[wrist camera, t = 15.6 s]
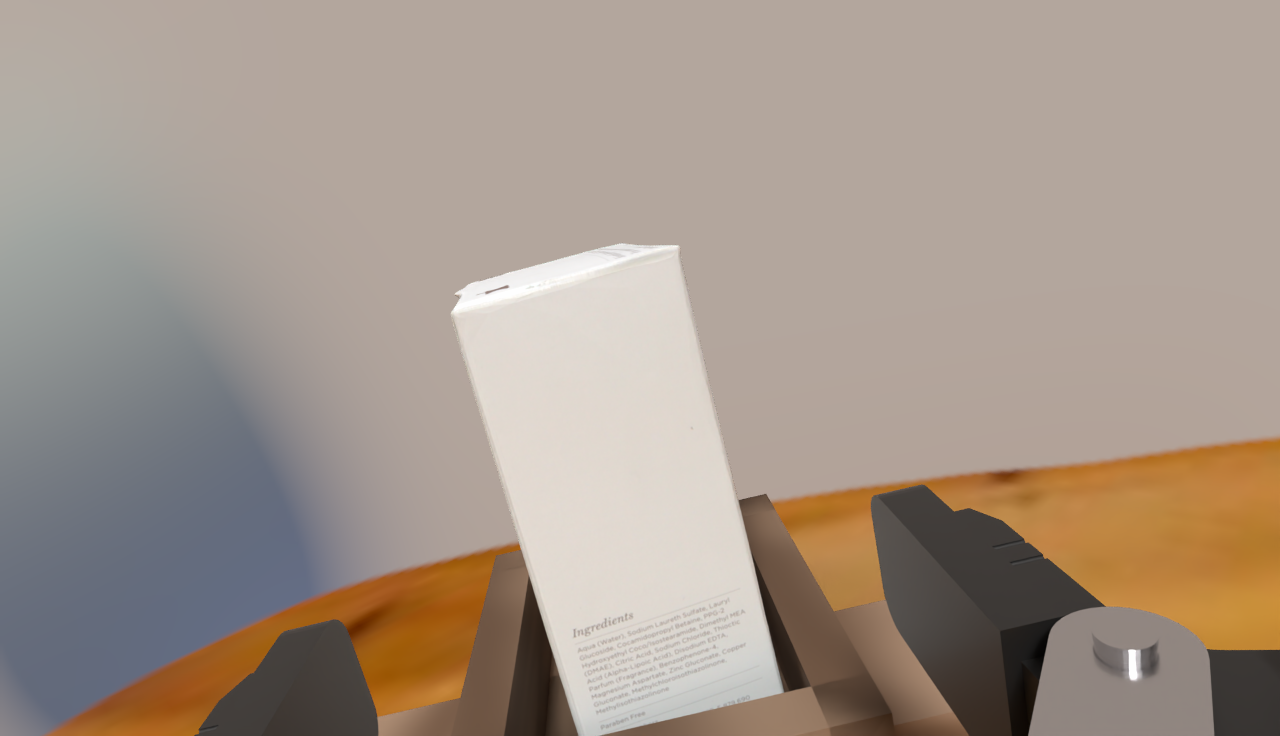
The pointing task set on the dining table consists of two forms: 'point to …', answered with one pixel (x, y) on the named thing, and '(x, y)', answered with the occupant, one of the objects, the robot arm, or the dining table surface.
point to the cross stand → (745, 732)
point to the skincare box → (619, 484)
